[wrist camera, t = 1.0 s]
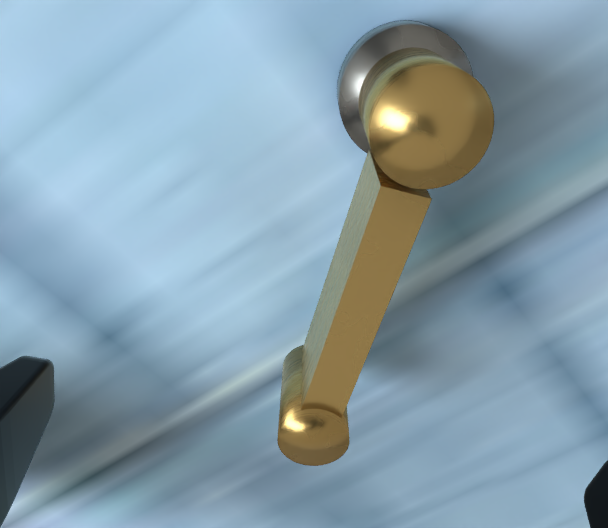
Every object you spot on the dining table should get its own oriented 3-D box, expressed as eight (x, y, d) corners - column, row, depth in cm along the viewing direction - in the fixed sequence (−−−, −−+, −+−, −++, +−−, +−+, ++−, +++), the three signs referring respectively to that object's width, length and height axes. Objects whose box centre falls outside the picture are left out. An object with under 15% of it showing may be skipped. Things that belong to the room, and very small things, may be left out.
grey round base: (433, 161, 20) (443, 176, 18) (322, 132, 19) (323, 145, 18) (482, 41, 18) (496, 46, 16) (358, 3, 17) (362, 6, 16)
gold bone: (376, 34, 16) (394, 51, 12) (473, 62, 16) (518, 87, 13) (269, 382, 23) (262, 456, 19) (340, 397, 23) (345, 472, 20)
